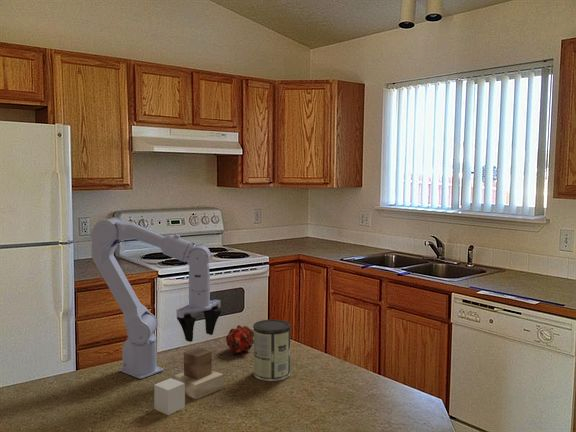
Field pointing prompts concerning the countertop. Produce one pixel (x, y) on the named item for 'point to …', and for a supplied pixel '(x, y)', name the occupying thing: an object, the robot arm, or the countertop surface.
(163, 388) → the off-white block
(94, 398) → the countertop surface
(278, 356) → the coffee can
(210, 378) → the birch base block
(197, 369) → the walnut block
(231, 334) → the dragon fruit
